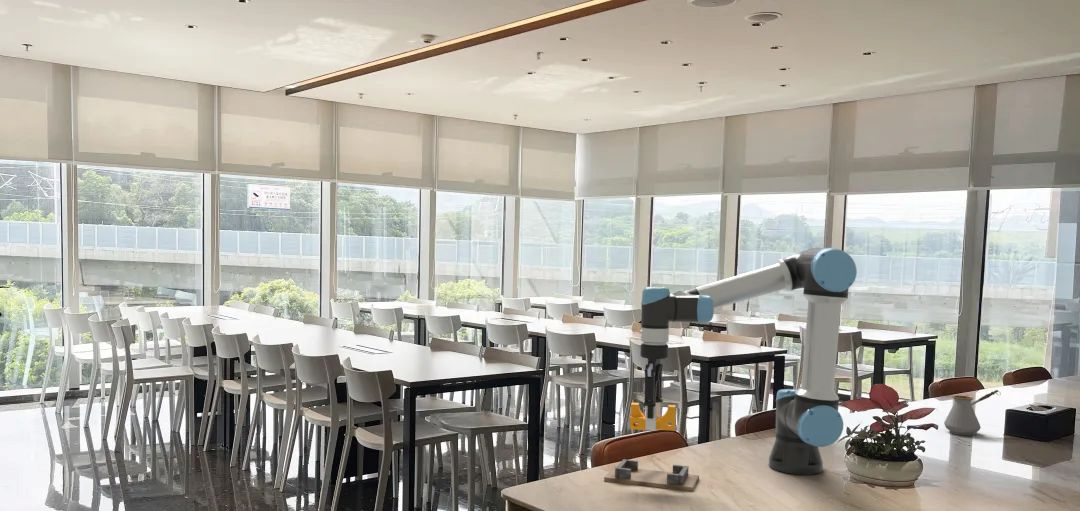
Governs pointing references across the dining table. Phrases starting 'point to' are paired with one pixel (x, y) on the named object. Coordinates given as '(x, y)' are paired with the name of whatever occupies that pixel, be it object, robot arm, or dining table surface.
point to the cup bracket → (652, 476)
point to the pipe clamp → (660, 422)
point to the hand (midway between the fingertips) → (652, 427)
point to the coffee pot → (964, 415)
